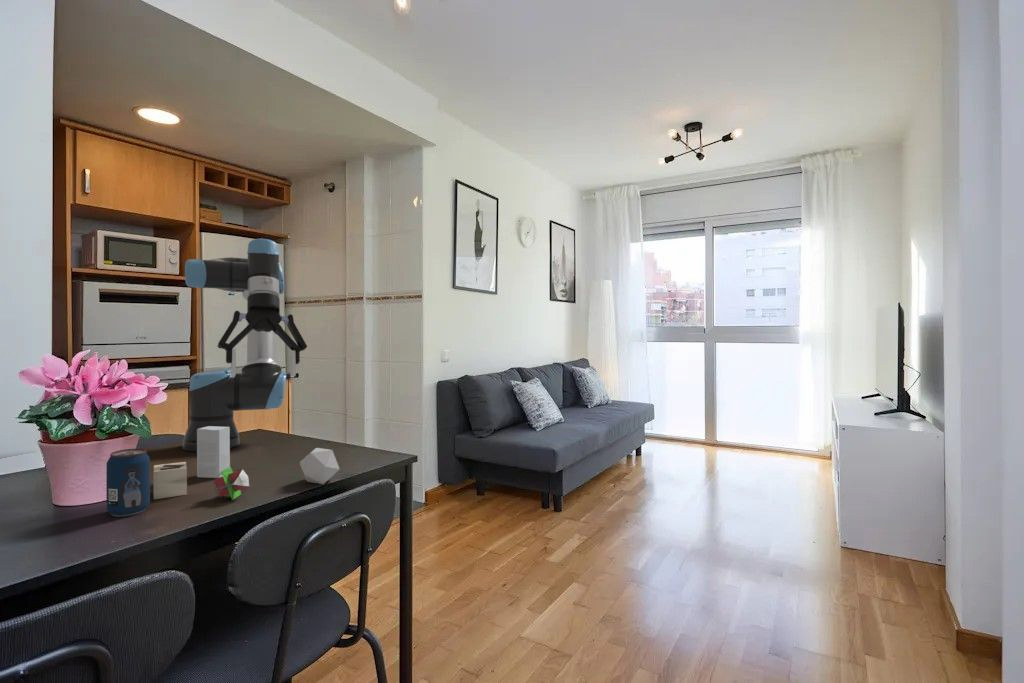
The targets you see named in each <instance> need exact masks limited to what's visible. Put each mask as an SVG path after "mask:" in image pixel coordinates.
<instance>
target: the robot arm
mask: <svg viewBox="0 0 1024 683" xmlns="http://www.w3.org/2000/svg"><path fill="white" fill-rule="evenodd" d="M279 250H280V249H279V244H278V243H276V242H275V241H273V240H272V239H267V238H255V239H252V240H251V241H249V242H248V244H247V253H246V254H247V258H244V257H241V258H240V257H220V258H219V257H218V258H211V259H199V258H198V259H191V258H190V259H187V260H186V261H185V263H184V264H185V265H184V281H185V285H186V286H187V287H190V288H197V289H217V290H221V291H225V292H226V291H227V292H235V293H242V294H241V295H242V298H244V299H245V300H246V309H247V311H246V313H243V312H240V311H239V310H235V311H234V313H233V316H232V320H231V322H230V324H229V326H227V328H226V331H225V332H224V334H223V335H222V336H221V338H220V340H219V341H218V344H217V348H218V349H223V350H225V363H226V364H230V368H221V369H214V370H209V371H208V370H207V371H202V372H197V373H194V374H193V375H191V377H190V379H189V389H188V391H189V423H188V426H187V428H186V431H185V435H183V440H182V450H184V451H187V452H197V429H199V428H203V427H207V426H218V427H230V449H231V448H235V447H237V446H239V445H240V442H241V441H240V440H241V439H240V438H241V437H240V434H239V431H238V428H237V425H236V423H235V421H234V420H235V418H234V412H236V411H257V410H265V411H267V410H270V409H271V410H273V409H279V408H280V407H282V405H283V403H284V396H285V392H286V391H285V390H286V382H287V372H286V371H285V372H284V371H282V366H281V365H280V364H279V363H278V362H277V336H278V337H279V339H281V341H283V343H284V344H286V346H287V347H288V348H289V349H290V350H291V351H290V353H289V367H290V368H289V372H290V373H289V376H290V377H289V378H295V377H296V375H297V371H296V370H297V367H296V365H299V363H300V361H301V359H300V354H301V353H300V352H303V351H305V350H306V349H307V347H308V345H307V343H306V341H305V340H304V338H303V336H302V334H301V333H300V330H299V329H298V327H297V326H296V324H295V322H294V321H295V320H294V315H292V314H288V315H281V309H280V305H281V304H280V303H281V302H280V300H281V299H280V296H281V295H282V294H284V292H285V282H284V279H285V278H284V273H283V268H282V266H281V263H280V251H279ZM243 320H246V327H244V329H242V330H241V331H240V333H238V334H237V335H236V336H235V337H234V338H233V339H232V340H231V341H230V342H229V343H227V341H228V340H229V338H230V336H231V334H232V333H233V332H234V330H235V328H236V327H237V325H238V323H239V322H242V321H243ZM281 322H283V323H284V325H286V326H287V328H288V330H289V332H290V334H291V336H292V337H293V339H294V340H293V339H292V337H291V336H290V335H289V334H288V333H287V332H286V331H285V329H283V327H282V326H281V325H280V323H281ZM244 338H247V339H246V348H247V349H246V364H244V365H243V366H242V367H241V373H240V372H239V373H238V372H236V371H237V369H236V368H237V349H236V348H235V347H236V346H237V345H239V343H240V342H241V341H242V340H243V339H244Z"/></svg>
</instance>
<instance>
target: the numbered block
mask: <svg viewBox="0 0 1024 683" xmlns="http://www.w3.org/2000/svg"><path fill="white" fill-rule="evenodd" d="M187 480H188V468H187V461H181V462H173V463H163V464H155V465H153V500H160V499H165V498H172V497H173V498H174V497H179V496H180V497H181V496H187V495H188V481H187Z"/></svg>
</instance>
